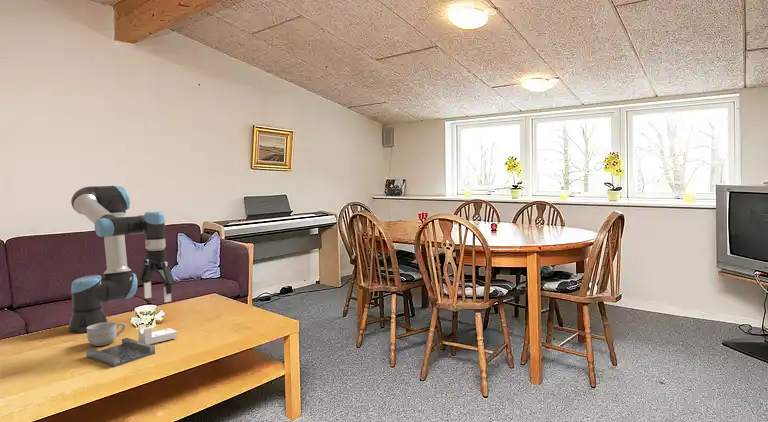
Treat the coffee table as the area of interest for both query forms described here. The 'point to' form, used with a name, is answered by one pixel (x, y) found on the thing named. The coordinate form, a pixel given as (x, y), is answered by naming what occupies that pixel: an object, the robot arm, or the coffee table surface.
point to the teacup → (103, 333)
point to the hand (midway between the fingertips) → (157, 299)
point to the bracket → (155, 334)
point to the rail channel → (121, 352)
